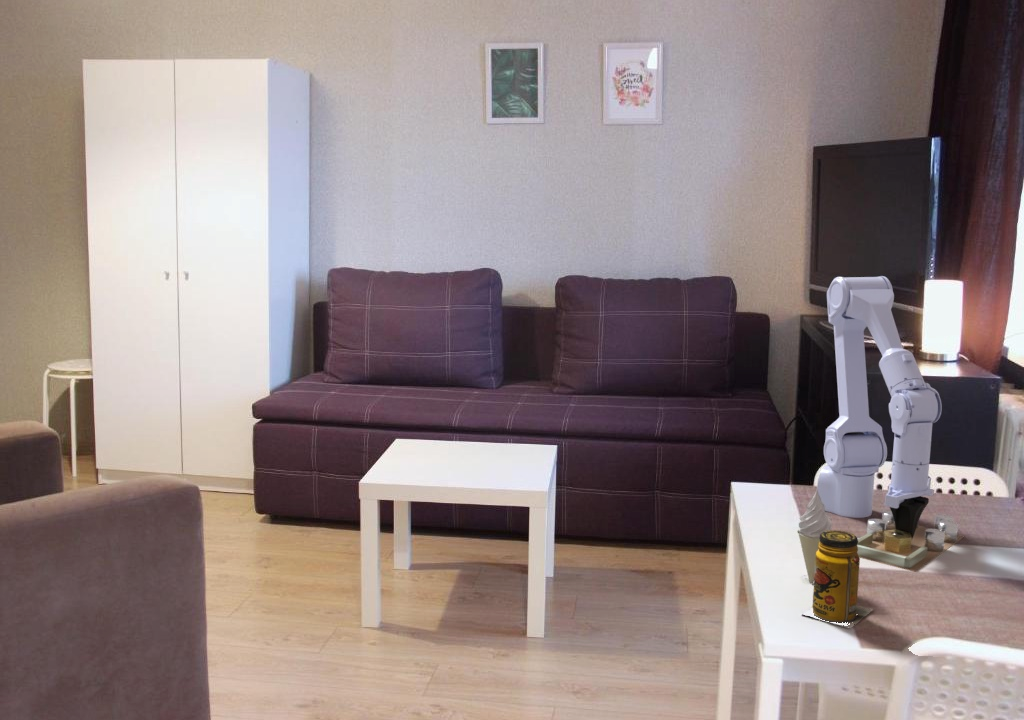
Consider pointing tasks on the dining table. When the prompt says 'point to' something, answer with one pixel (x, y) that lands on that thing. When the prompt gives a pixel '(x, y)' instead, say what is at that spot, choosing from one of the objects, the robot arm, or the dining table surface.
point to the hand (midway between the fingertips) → (904, 539)
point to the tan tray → (900, 560)
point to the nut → (897, 541)
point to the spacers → (933, 537)
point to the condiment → (837, 579)
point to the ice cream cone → (812, 532)
